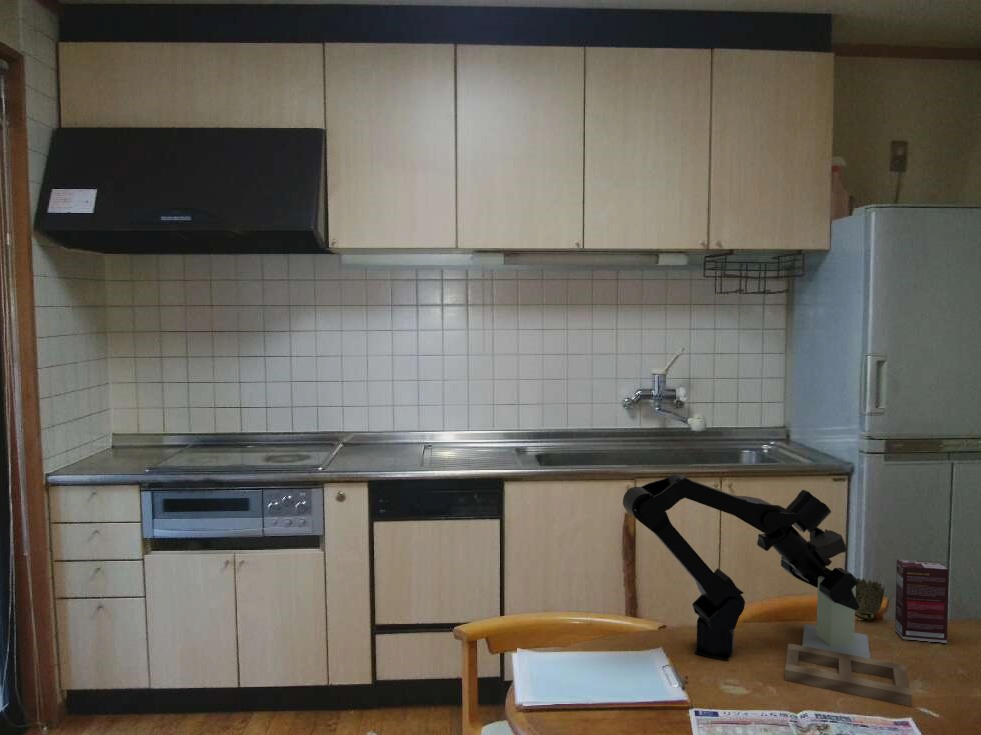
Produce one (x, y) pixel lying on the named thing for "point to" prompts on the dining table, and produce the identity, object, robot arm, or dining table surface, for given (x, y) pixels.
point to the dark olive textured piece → (868, 598)
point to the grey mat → (857, 649)
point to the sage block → (835, 621)
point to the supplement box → (922, 600)
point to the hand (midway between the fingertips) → (843, 599)
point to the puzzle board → (848, 674)
